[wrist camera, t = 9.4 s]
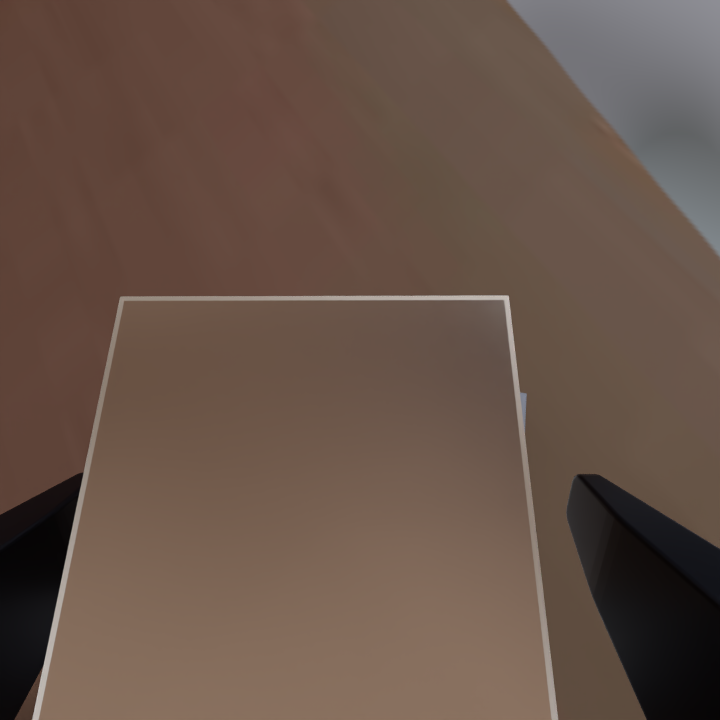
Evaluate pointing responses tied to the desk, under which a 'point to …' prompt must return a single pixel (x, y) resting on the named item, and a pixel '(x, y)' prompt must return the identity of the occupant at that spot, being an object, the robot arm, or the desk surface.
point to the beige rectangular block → (304, 518)
